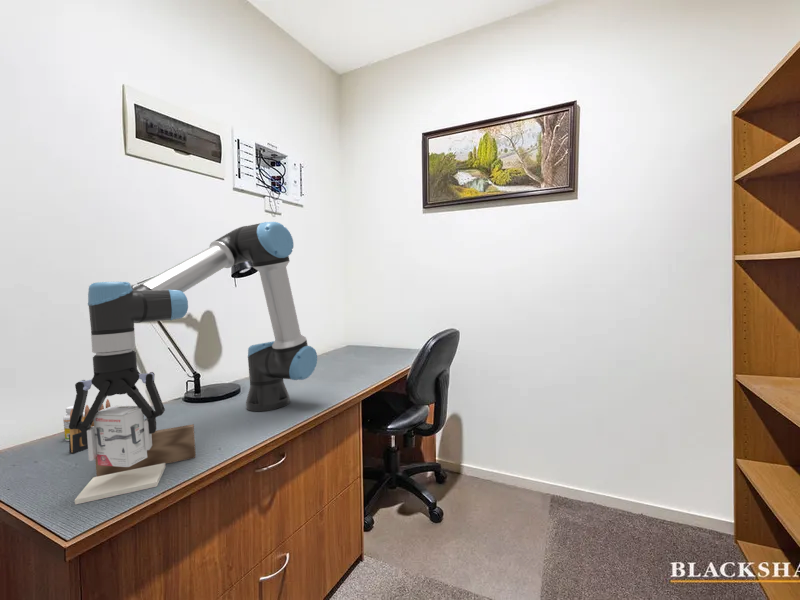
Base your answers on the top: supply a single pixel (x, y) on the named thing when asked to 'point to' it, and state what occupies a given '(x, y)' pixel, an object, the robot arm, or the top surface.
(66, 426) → the supplement bottle
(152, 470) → the pad
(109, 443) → the ink box
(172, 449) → the walnut screen
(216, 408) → the top surface
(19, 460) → the top surface
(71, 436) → the ammunition clip
